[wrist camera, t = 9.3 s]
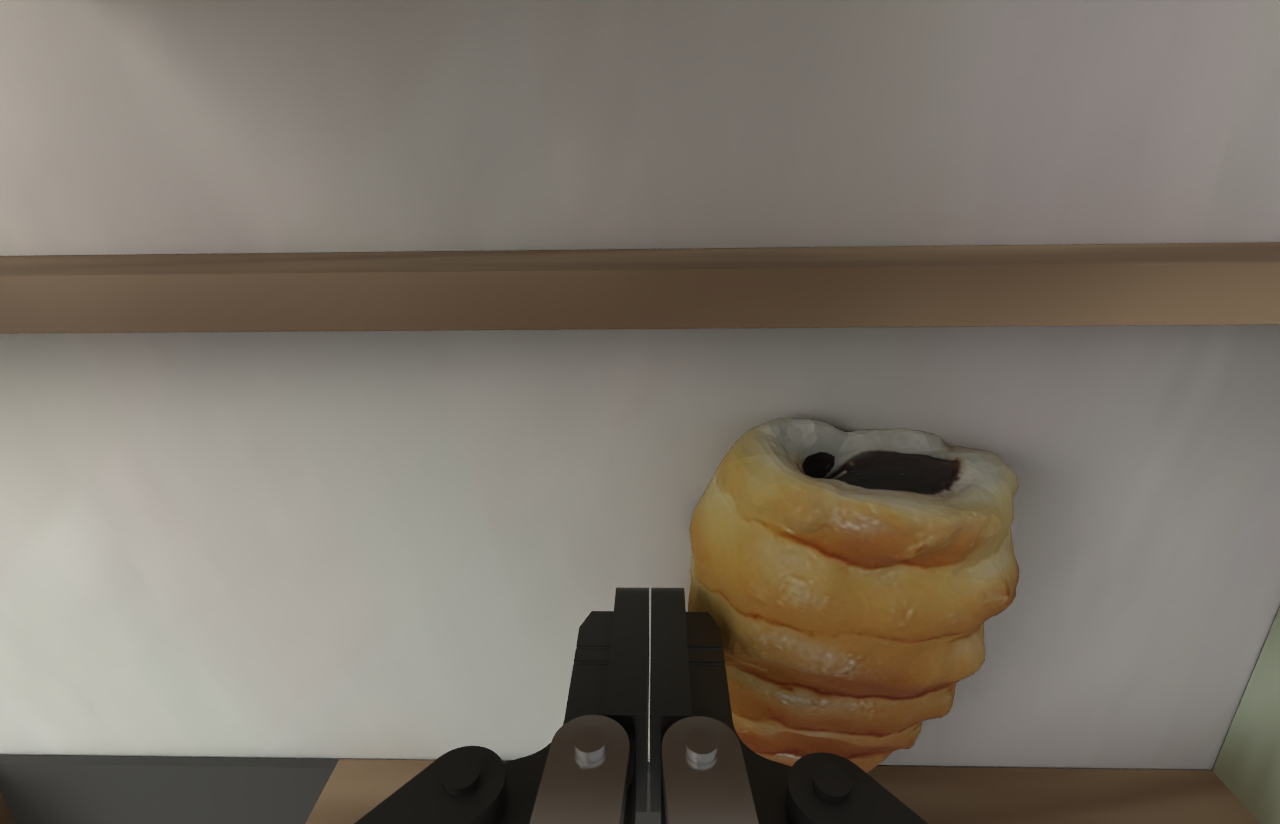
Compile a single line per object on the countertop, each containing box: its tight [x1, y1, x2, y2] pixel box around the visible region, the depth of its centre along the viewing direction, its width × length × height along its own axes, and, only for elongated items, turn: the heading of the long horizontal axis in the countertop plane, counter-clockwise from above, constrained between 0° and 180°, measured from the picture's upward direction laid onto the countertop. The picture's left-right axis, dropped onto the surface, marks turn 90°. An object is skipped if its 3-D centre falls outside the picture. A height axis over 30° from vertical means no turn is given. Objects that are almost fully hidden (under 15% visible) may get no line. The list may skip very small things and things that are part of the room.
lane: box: [0, 242, 1280, 824], centre depth 16 cm, size 23×48×4 cm, turn 91°
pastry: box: [688, 418, 1019, 773], centre depth 15 cm, size 9×7×4 cm
